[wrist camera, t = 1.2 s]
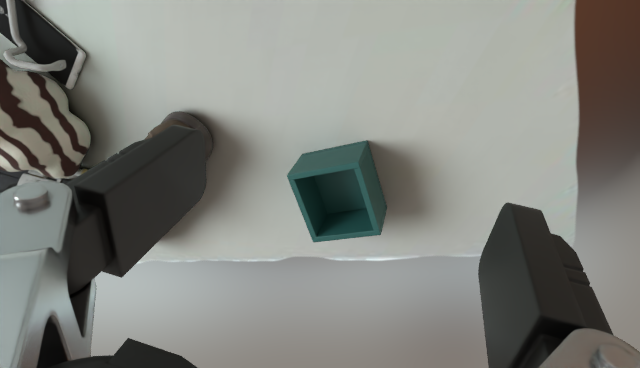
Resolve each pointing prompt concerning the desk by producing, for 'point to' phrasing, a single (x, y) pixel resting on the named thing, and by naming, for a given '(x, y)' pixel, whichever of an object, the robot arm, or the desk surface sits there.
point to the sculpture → (38, 126)
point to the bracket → (23, 48)
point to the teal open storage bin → (339, 192)
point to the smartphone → (44, 42)
